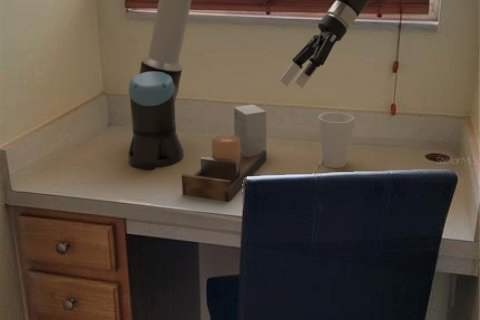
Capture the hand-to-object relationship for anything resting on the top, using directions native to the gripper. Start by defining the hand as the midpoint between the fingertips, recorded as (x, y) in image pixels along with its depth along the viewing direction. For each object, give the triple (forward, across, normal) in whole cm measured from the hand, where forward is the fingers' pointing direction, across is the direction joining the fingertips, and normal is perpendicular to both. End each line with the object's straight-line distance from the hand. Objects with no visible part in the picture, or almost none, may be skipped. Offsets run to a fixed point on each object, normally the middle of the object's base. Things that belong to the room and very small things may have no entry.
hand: (290, 84), depth 168 cm
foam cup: (+10, -7, -21) cm, 25 cm away
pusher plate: (+32, -15, +3) cm, 36 cm away
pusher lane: (+31, -10, +1) cm, 32 cm away
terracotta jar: (+30, -11, +2) cm, 32 cm away
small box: (+22, +6, -4) cm, 23 cm away
